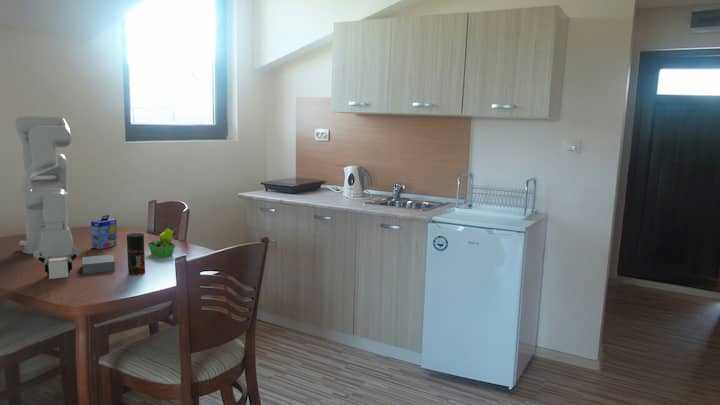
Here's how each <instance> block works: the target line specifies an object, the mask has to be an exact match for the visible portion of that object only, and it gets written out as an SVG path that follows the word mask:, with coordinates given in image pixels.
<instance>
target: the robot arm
mask: <svg viewBox="0 0 720 405" xmlns="http://www.w3.org/2000/svg"><path fill="white" fill-rule="evenodd" d="M14 126H15V130H16V132H17V135H18V137H19V138H20V140H21V143H22V156H23V158H22V159H23V169H24V172H25V173H24V175H23V177H22V180H21V183H20V194H21V196H22V197H21V198H22V200H23V201H22V202H23V207H24V208H23V209H24V220H25V223H24V224H25V236H26V240H20V241H19V243H18V247H24V248H23V250H22V252H23V253H24V254H27V255H33V257H34V258H35V259H37V260H38V261H39V262H41V263H42V264H43V265H44V273H46V274H47V276H49V265H48V262H49V259H51V258H63V257H67V259H68V274H70V273H71V271H73V261H74V260H76V259H77V257H78V256H79V255H80V254H81V253H82V249H80V248H79V247H78V246H76V245H75V244H74V240H73V235H72V231H71V230H72V229H71V227H69V225H68V224H69V223H68V207H67V205H68V203H69V166H68V160H67V157H66V156H65V155H64V154H62V153H57V148H69V147H70V146H71V145H72V144H73V143H72V142H73V135H72V131H71V129H70V127H69V124H68V123H67V121H66V120H65V118H63V117H61V116H49V115H45V116H44V115H22V116H21V115H20V116H18V117H16V119H15V122H14ZM48 176H50V177H48ZM51 176H53V177H51ZM74 251H75V253H74Z"/></svg>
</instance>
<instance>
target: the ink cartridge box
mask: <svg viewBox="0 0 720 405" xmlns="http://www.w3.org/2000/svg"><path fill="white" fill-rule="evenodd" d="M90 228H91V231H90V232H91V233H90V234H91V248H93V249H98V250H103V249H106V248H110V247H114V246H117V242H118V240H117V236H118V234H117V230H118V229H117V219H116V218H115V219H114V218H111V217H110V214H107V215H102V217H101V219H96V220H93V221H90Z"/></svg>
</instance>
